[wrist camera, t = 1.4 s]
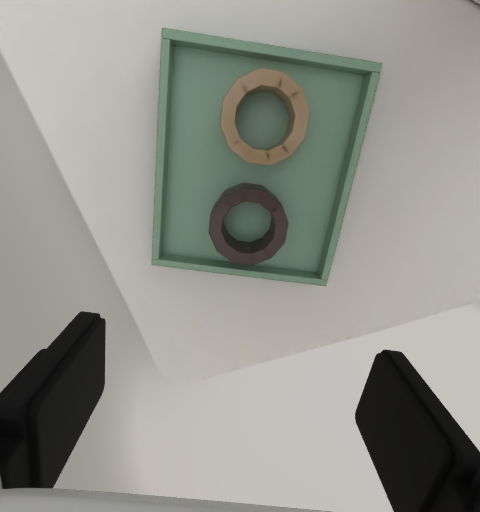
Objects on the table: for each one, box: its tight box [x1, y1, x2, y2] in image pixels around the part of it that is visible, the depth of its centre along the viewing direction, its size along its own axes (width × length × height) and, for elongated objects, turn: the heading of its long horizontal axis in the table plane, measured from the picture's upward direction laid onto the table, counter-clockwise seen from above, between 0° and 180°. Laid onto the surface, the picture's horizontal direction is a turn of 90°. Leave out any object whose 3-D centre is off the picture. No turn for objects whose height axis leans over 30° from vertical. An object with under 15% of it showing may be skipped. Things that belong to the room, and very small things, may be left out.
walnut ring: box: [209, 183, 288, 265], centre depth 26 cm, size 6×6×3 cm
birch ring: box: [220, 68, 310, 165], centre depth 23 cm, size 6×6×3 cm
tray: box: [152, 28, 382, 286], centre depth 26 cm, size 17×15×2 cm
